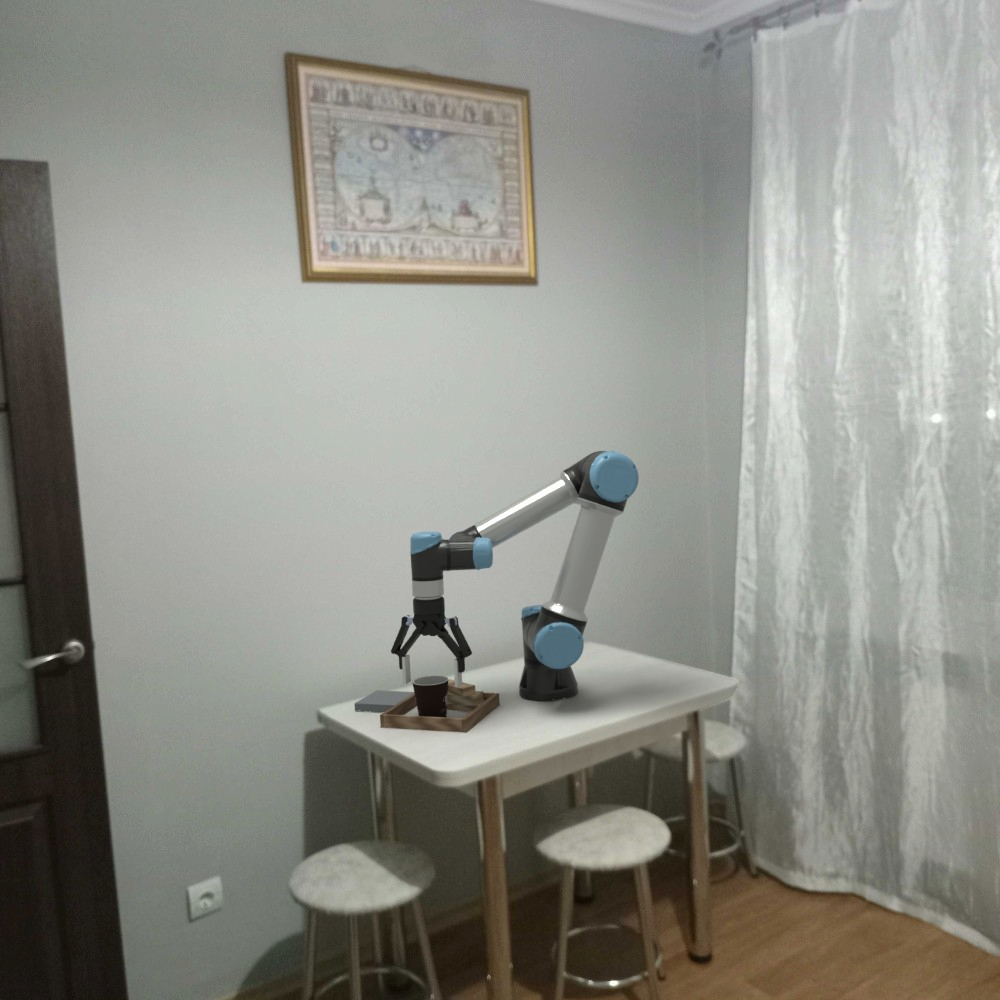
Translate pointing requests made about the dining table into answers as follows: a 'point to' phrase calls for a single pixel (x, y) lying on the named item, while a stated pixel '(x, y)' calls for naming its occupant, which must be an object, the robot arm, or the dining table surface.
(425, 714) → the coffee mug
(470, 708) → the offcut board oak
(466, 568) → the robot arm
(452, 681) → the offcut board beech
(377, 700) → the plate
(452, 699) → the offcut board pine
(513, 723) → the dining table surface
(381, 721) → the wooden tray
